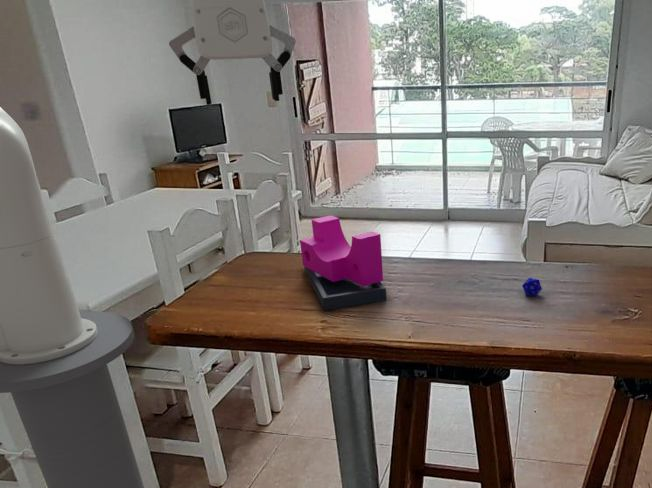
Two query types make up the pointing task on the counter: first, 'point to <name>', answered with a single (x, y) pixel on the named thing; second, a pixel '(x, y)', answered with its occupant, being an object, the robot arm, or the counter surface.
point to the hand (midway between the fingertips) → (243, 102)
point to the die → (532, 287)
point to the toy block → (342, 253)
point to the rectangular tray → (344, 291)
